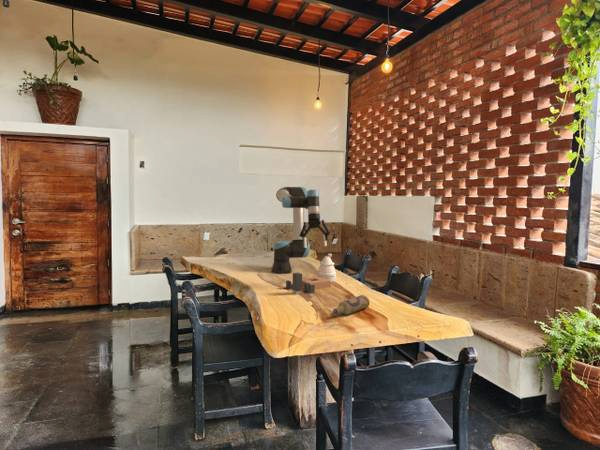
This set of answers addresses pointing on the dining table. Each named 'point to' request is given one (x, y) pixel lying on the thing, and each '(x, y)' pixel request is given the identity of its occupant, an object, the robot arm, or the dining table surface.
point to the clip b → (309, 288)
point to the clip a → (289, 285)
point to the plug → (297, 283)
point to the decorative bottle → (352, 305)
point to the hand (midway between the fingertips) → (315, 246)
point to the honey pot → (327, 269)
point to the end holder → (316, 282)
